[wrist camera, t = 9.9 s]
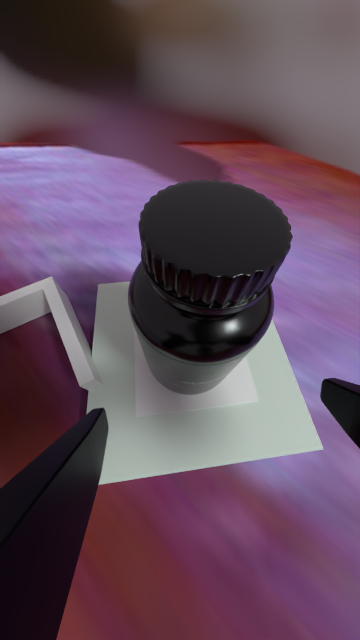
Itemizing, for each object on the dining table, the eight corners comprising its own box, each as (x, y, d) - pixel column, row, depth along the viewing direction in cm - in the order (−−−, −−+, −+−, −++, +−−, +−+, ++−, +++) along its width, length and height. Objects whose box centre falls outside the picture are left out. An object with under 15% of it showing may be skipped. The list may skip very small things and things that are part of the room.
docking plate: (314, 448, 14) (324, 449, 14) (86, 484, 13) (78, 487, 12) (250, 277, 22) (253, 270, 21) (101, 290, 21) (97, 283, 20)
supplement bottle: (194, 417, 14) (244, 379, 4) (129, 355, 16) (49, 220, 6) (246, 350, 17) (363, 215, 6) (185, 303, 19) (197, 146, 9)
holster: (107, 386, 16) (93, 378, 14) (-60, 483, 13) (-118, 496, 11) (67, 296, 21) (51, 276, 18) (-66, 352, 17) (-109, 338, 15)
